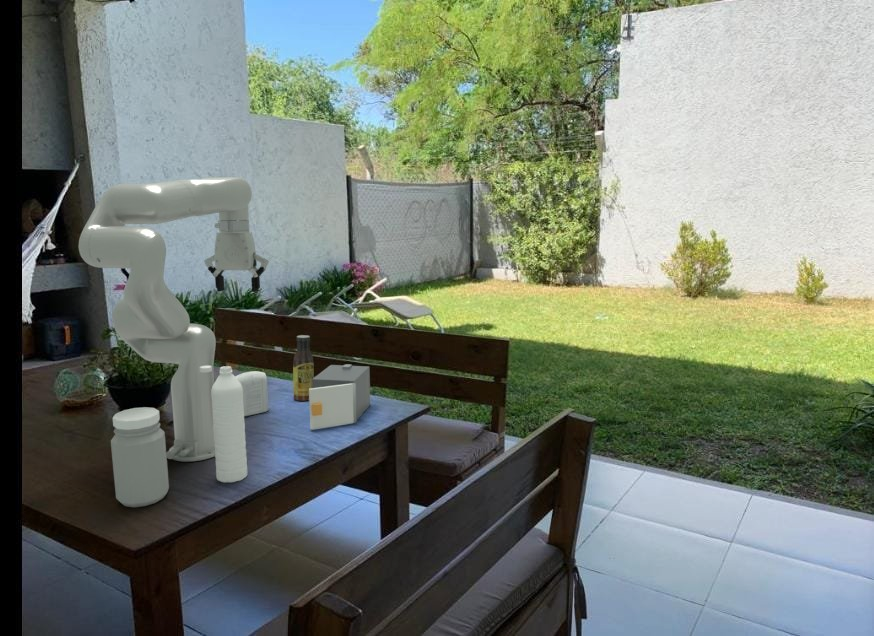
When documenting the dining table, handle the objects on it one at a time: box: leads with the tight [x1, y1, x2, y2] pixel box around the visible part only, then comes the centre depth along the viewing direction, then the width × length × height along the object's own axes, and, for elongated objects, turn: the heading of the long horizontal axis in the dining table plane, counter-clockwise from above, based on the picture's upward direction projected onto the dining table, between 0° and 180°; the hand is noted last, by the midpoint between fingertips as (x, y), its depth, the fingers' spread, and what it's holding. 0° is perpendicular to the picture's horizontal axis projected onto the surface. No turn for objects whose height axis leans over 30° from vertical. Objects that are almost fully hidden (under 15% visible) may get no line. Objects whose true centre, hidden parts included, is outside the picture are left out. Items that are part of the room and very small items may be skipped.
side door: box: [308, 383, 357, 430], centre depth 164 cm, size 2×13×11 cm, turn 116°
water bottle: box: [200, 365, 248, 484], centre depth 133 cm, size 9×6×25 cm
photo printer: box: [234, 370, 269, 417], centre depth 176 cm, size 10×4×12 cm, turn 134°
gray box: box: [312, 363, 371, 422], centre depth 177 cm, size 16×14×13 cm
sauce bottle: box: [292, 334, 315, 402], centre depth 189 cm, size 7×6×20 cm
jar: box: [110, 406, 170, 508], centre depth 123 cm, size 10×10×18 cm
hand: (238, 291), depth 166 cm, fingers open, 9 cm apart
